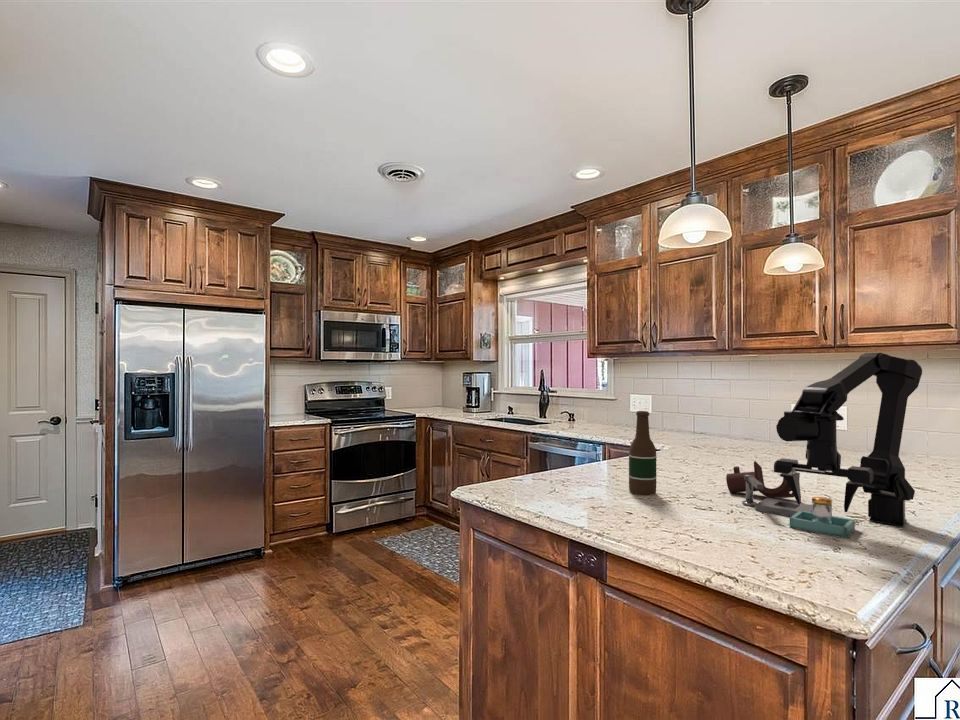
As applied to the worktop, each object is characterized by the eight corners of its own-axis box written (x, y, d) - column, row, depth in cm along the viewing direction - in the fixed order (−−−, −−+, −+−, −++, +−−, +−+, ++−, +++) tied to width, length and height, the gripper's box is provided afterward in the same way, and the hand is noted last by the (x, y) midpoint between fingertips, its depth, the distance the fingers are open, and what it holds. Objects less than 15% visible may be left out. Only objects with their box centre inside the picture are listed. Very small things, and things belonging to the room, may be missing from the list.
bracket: (794, 494, 143) (788, 458, 147) (728, 497, 153) (724, 464, 157) (799, 498, 147) (792, 463, 152) (734, 502, 157) (729, 469, 162)
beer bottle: (623, 490, 157) (623, 410, 158) (643, 488, 161) (643, 409, 161) (641, 496, 150) (641, 412, 151) (662, 494, 154) (662, 411, 154)
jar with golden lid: (833, 525, 121) (833, 498, 121) (829, 529, 119) (829, 501, 119) (814, 522, 124) (814, 496, 124) (810, 525, 121) (810, 498, 121)
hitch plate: (818, 511, 135) (818, 486, 136) (808, 519, 128) (808, 493, 128) (748, 500, 147) (748, 477, 147) (735, 506, 140) (735, 482, 140)
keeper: (743, 478, 144) (743, 474, 144) (753, 479, 143) (753, 475, 143) (754, 489, 132) (754, 484, 132) (765, 489, 131) (765, 484, 131)
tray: (854, 529, 121) (854, 519, 121) (846, 538, 114) (846, 528, 114) (799, 519, 128) (799, 510, 128) (789, 527, 122) (789, 517, 122)
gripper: (877, 440, 121) (877, 509, 121) (786, 433, 134) (786, 495, 134) (869, 445, 113) (869, 518, 113) (773, 437, 126) (773, 503, 126)
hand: (822, 507), depth 121 cm, fingers open, 9 cm apart
